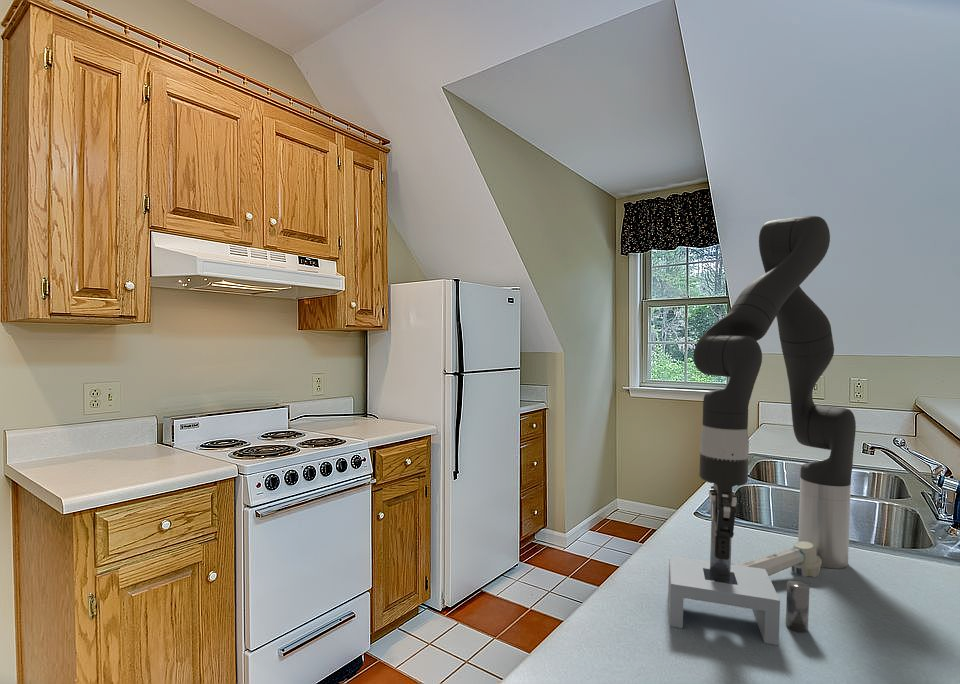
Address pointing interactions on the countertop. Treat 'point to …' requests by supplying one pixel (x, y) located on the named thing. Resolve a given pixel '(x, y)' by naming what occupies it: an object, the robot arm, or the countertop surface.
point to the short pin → (797, 606)
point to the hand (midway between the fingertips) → (720, 553)
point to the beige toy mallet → (790, 561)
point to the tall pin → (719, 560)
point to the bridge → (724, 592)
